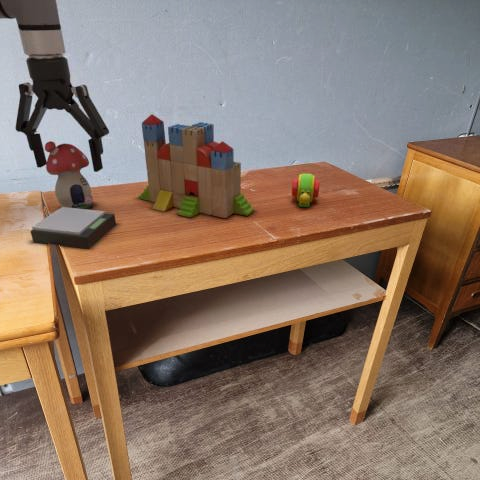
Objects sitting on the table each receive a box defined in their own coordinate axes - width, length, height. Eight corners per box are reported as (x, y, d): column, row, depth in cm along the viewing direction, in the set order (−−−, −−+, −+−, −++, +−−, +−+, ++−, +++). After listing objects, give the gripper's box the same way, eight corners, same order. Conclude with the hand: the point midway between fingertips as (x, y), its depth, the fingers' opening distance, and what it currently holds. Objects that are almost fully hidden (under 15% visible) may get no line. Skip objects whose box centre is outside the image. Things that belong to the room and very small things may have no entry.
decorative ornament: (58, 215, 99) (42, 145, 90) (53, 205, 103) (36, 137, 95) (100, 208, 102) (88, 140, 94) (93, 199, 107) (81, 133, 98)
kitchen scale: (33, 242, 87) (29, 228, 86) (65, 219, 97) (62, 205, 95) (89, 248, 85) (86, 234, 84) (116, 224, 95) (114, 211, 93)
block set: (260, 207, 105) (264, 119, 93) (231, 228, 94) (232, 132, 83) (164, 186, 115) (157, 105, 104) (128, 203, 105) (116, 115, 94)
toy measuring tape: (289, 209, 104) (292, 181, 100) (294, 182, 119) (296, 157, 116) (317, 211, 103) (320, 183, 99) (318, 184, 119) (321, 159, 115)
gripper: (114, 56, 86) (129, 166, 98) (1, 52, 90) (29, 159, 103) (96, 59, 80) (115, 177, 92) (-24, 56, 84) (9, 168, 97)
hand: (70, 168), depth 98 cm, fingers open, 13 cm apart
